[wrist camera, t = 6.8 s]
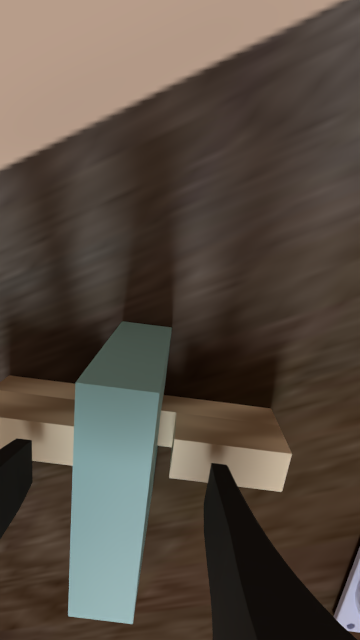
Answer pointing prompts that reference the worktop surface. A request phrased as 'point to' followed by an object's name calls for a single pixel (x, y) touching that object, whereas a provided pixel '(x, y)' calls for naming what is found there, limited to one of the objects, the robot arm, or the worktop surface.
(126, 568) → the teal notched block
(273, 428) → the birch slotted rail
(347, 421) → the worktop surface
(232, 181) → the worktop surface
